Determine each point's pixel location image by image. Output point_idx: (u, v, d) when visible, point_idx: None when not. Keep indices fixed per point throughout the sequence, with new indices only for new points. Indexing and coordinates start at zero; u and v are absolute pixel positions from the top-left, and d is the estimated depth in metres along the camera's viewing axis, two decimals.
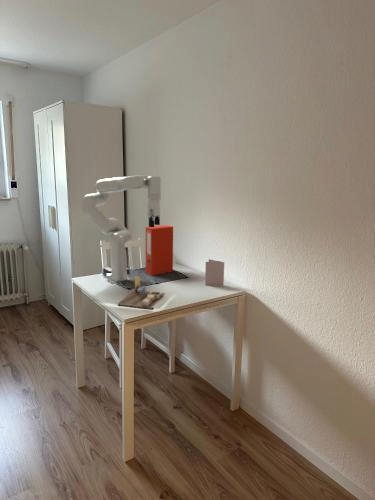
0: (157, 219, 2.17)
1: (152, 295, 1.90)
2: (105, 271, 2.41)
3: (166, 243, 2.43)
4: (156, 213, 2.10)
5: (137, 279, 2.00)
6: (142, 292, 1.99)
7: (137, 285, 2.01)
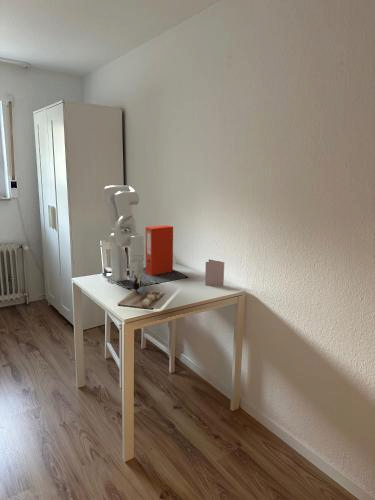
0: None
1: (152, 295, 1.90)
2: (105, 271, 2.41)
3: (166, 243, 2.43)
4: (139, 274, 1.98)
5: None
6: (142, 292, 1.99)
7: None
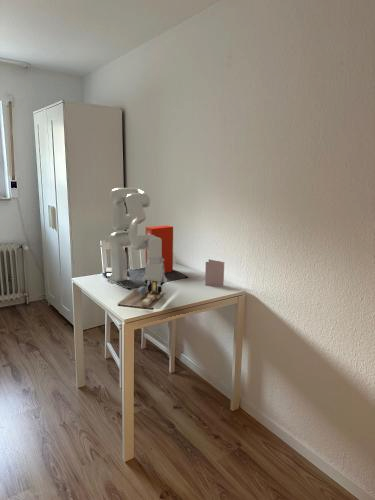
0: None
1: (152, 295, 1.90)
2: None
3: (166, 243, 2.43)
4: (149, 277, 1.92)
5: (152, 283, 1.94)
6: (142, 292, 1.99)
7: (152, 289, 1.95)
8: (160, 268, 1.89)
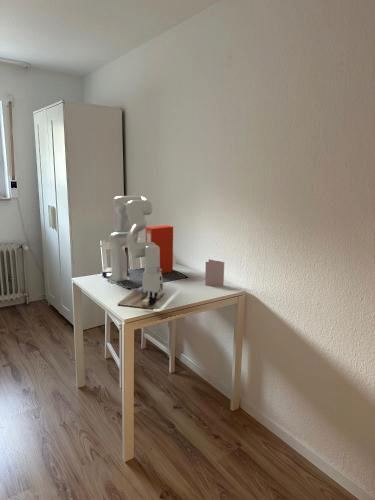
0: None
1: None
2: None
3: (166, 243, 2.43)
4: (146, 287, 1.80)
5: None
6: (142, 292, 1.99)
7: None
8: (157, 278, 1.76)
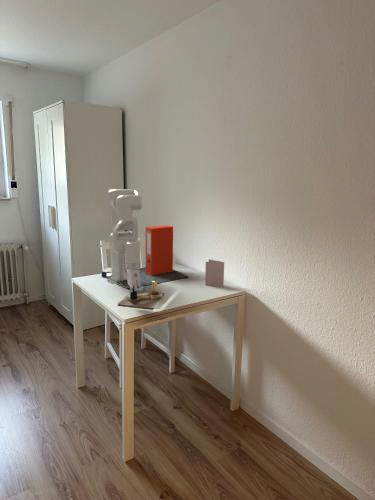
0: None
1: (146, 293, 1.93)
2: None
3: (166, 243, 2.43)
4: (128, 282, 1.87)
5: (152, 283, 1.94)
6: (142, 292, 1.99)
7: (152, 289, 1.95)
8: (131, 274, 1.80)
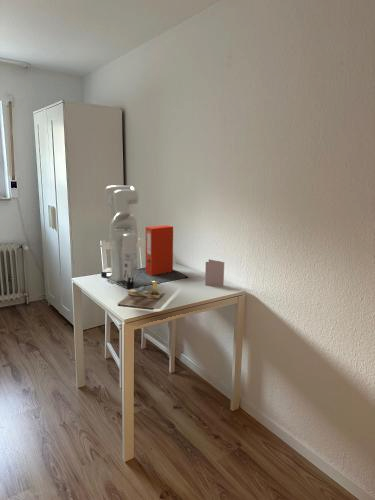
0: None
1: (145, 291, 1.96)
2: None
3: (166, 243, 2.43)
4: None
5: (152, 283, 1.94)
6: None
7: (152, 289, 1.95)
8: (123, 264, 1.89)
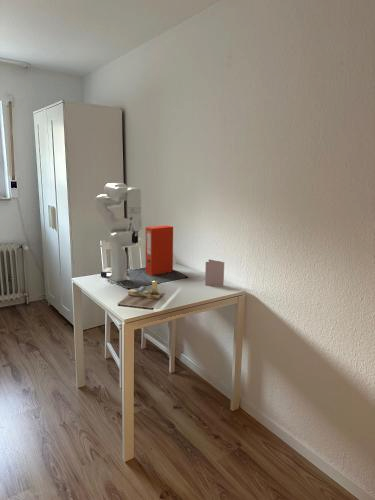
0: None
1: (145, 291, 1.96)
2: None
3: (166, 243, 2.43)
4: None
5: (152, 283, 1.94)
6: None
7: (152, 289, 1.95)
8: (128, 217, 1.96)
